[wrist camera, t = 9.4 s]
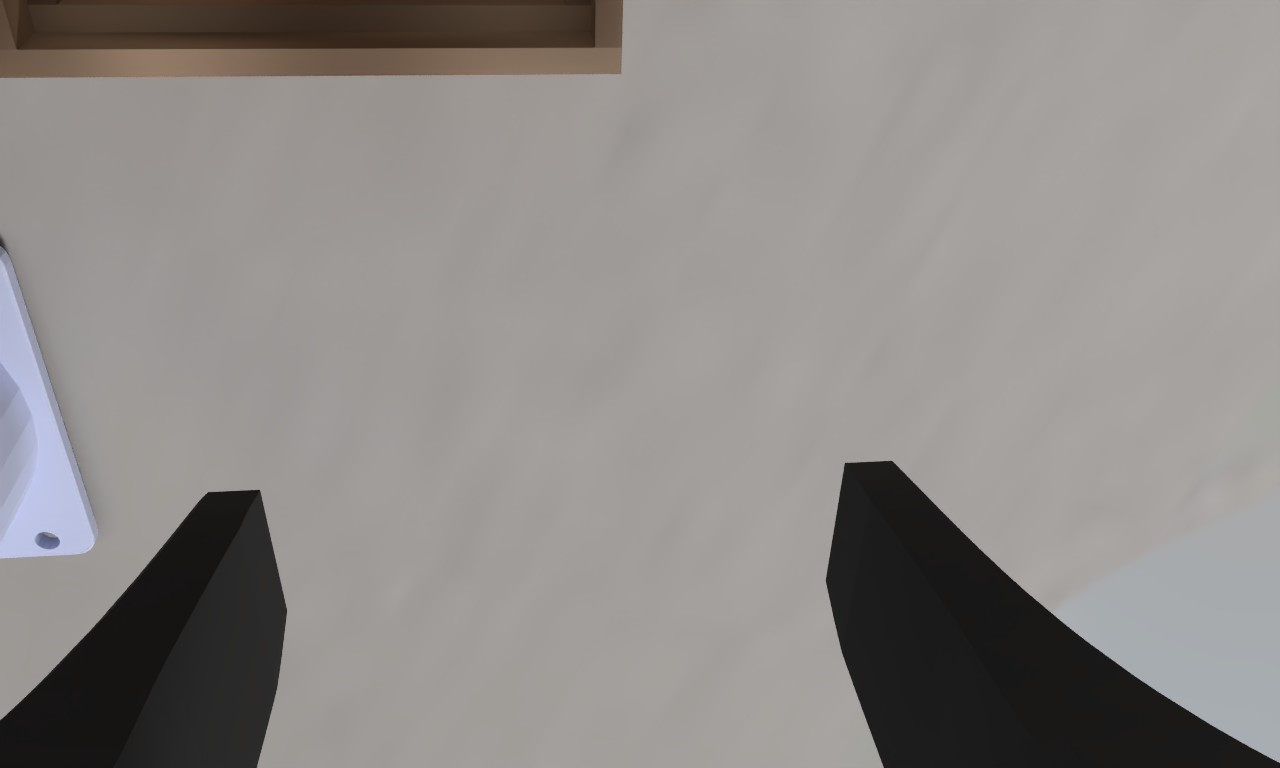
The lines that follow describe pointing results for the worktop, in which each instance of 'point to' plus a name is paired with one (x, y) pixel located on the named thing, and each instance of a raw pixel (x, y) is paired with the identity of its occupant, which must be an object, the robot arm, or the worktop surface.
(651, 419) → the worktop surface
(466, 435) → the worktop surface
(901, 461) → the worktop surface
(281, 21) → the box
